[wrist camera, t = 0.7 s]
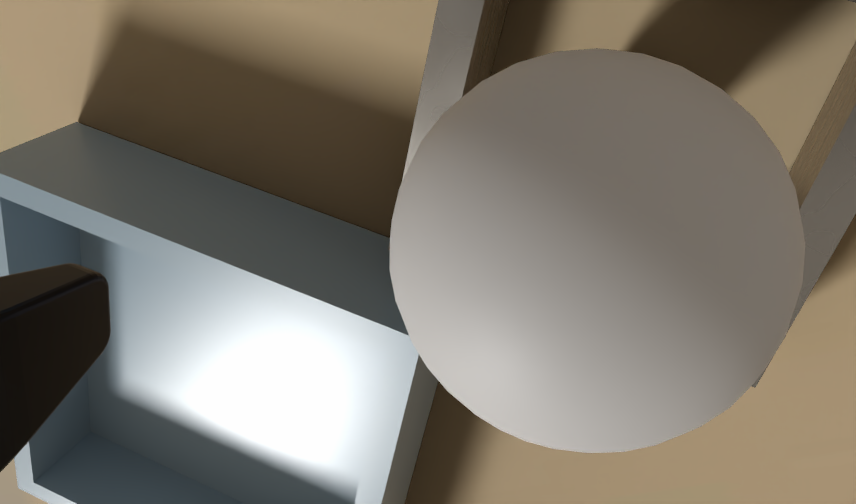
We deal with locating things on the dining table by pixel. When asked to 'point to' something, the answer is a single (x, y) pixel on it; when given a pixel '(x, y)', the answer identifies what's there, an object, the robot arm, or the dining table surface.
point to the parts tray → (213, 337)
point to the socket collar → (811, 172)
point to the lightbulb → (596, 250)
